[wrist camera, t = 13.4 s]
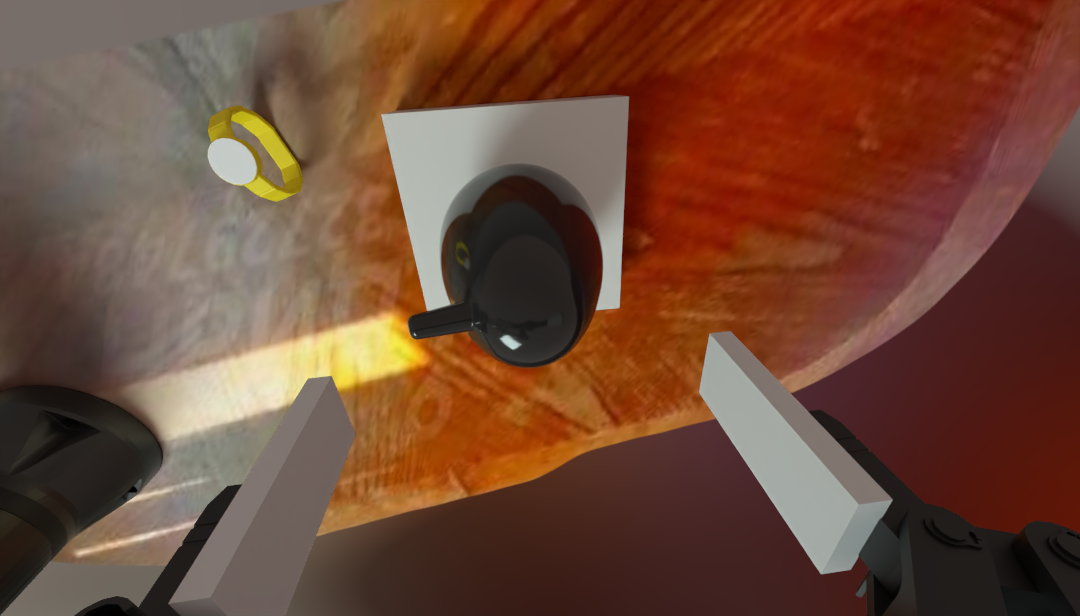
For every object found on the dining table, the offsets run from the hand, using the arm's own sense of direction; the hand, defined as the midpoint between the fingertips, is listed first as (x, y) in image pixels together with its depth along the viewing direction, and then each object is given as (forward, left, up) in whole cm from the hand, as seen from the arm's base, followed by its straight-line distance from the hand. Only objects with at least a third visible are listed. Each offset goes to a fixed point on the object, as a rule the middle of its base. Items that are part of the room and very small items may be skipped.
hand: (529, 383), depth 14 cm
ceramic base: (0, 0, -22) cm, 22 cm away
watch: (-17, +6, -22) cm, 28 cm away
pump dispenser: (0, 0, -18) cm, 18 cm away
